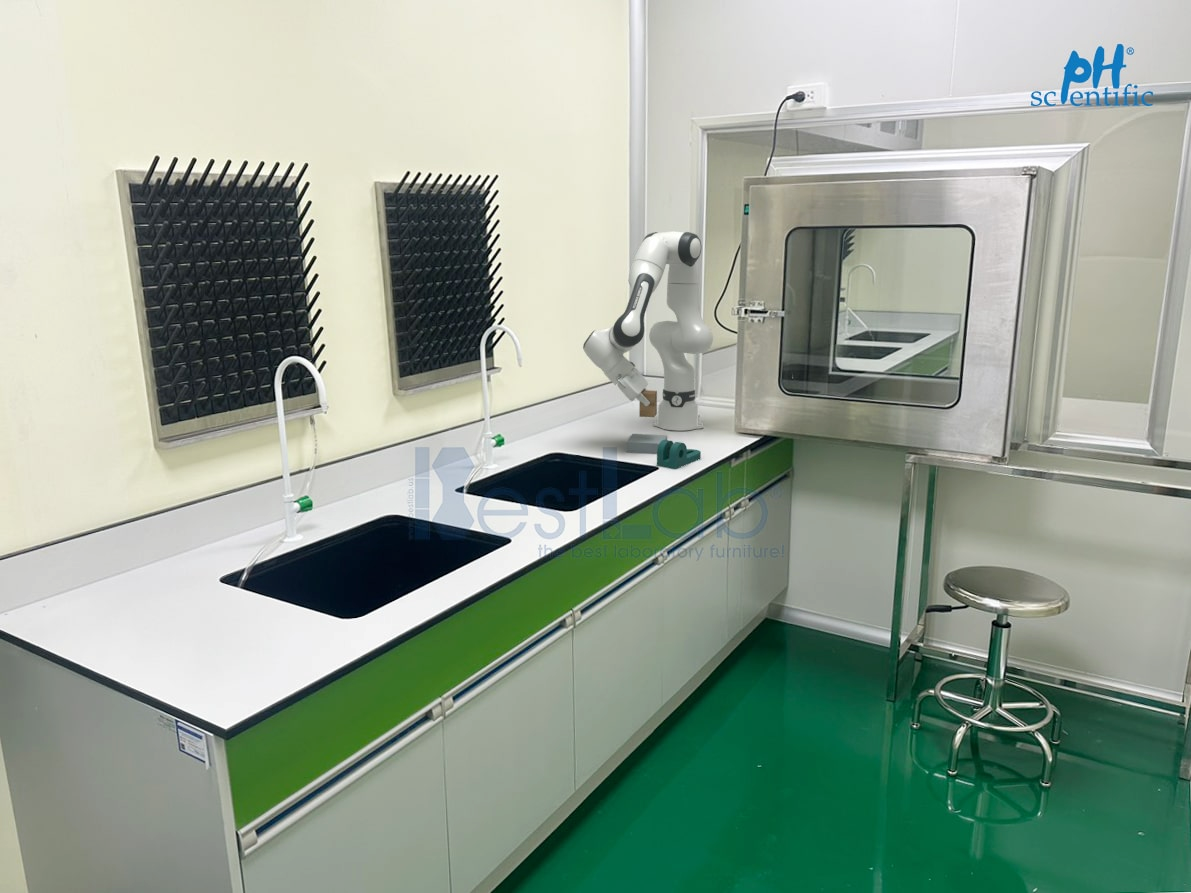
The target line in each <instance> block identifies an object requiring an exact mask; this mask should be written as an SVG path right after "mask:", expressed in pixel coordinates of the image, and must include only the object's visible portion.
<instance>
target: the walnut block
mask: <svg viewBox="0 0 1191 893" xmlns="http://www.w3.org/2000/svg"><path fill="white" fill-rule="evenodd" d="M641 393H642V394H643V396H644V397H645V398H646V399H648V400H649V401H650V404H649V405H648V406H645V405H644V404H643V403H642V402H640V401H639V411H638V412H639V417H640V418H656V417H657V415H658V390H648V389H647V390H643V391H642V392H641Z"/></svg>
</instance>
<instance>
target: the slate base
mask: <svg viewBox="0 0 1191 893" xmlns="http://www.w3.org/2000/svg"><path fill="white" fill-rule="evenodd" d="M662 440H668V435H667V434H665V435H664V434H646V433H645V434H644V433H631V435H630V436H629V438H628V439H627V440H626V443H625V448H626V449H625V451H626V452H625V453H632V454H649V455H650V454H651V455H657V449H658V445H659V443H660V442H661V441H662Z"/></svg>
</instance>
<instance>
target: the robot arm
mask: <svg viewBox="0 0 1191 893" xmlns="http://www.w3.org/2000/svg"><path fill="white" fill-rule="evenodd" d="M701 253H702V241H701V239H700V238H699V236H698V235H697V234H696V233H694V232H689V231H685V232H683V231H676V230H675V231H673V230H671V231H662V232H658V231H657V232H651V233H648V234H647V235H646V236H645V237H644V238H643V240H642V242H641V244H640V245H639V248H638V250H637V251H636V253H635V256H634V258H633V261H632V264H631V266H630V270H629V274H628V280H627V281H628V284H629V286H630V287H631V293H630V296H629V299H628V302H627V305H626V308H625V311H624V312H623V313H622V315H620V316H619V317H618V318H617V319H616V321H615V322H614V324H613V325H612V326H609V327H608V328H607V327H606V328H603V329H598V330H596V329H595V330H593V331H592V332H591V333H590V334H589V335H588V337H587V339H586V340H585V341H584V343H583V344H582V345H583V346H582V348H583V351H584V353H585V354H586V356H587V357H588V358H589V360H590V361H591V362H592V363H593V364H594V366H596V367H597V368H599V369H600V370H601V371H602V372H603V374H604V375H605V376H606V378H608V380H609V381H610V382H611V383H612V384H613V385H614V386H616V385H617V387H618V389H619V390H620V391H621V392H622V393H623V394H624V396H625V397H626V398H627V399H628V400H629V401H631V402H633V401H634V400H637V401H638V402H639V403H640V402H642V403H643V404H644V405H645V406H648V405H649V404H650V401H649V400H648V399H646V398H645V397H644V396H643V394H642V393H641V392H642V391H643V390H648V388H646V387H647V386H648V385H649V383H648V381H647V380H646V378H645V376H643V374H642V373H641V372H640V370H638V369H637V368H636V364H635V363H634V362H632V361H630V360H628V359H627V357H625V355H624V354H626V353H628V352H630V351H631V350H632V349H633V348H634V347H635V346H636V345H637V344H639V343H640V342H641V341H642V340H643V338H644V335H645V322H644V320H645V319H644V318H645V315H646V312H647V308H648V306H649V305H648V304H649V302H650V300H651V297H652V294H653V293H654V292H655V291H656V290H657V287H658V286H659V284H660V282H661V280H662V277H663V275H664V273H665V270H666V266H667V265H668V266H669V267H668V271H667V272H668V273H667V285H666V289H667V290H666V305H667V307H668V308H669V309H670V310H671V311H672V312H673V313H674V314H675V317H676V321H673V320H664V321H657V322H655V323H653V325H652V326H651V328H650V329H649V335H648V337H649V343H650V344H651V345H652V347H653V348H654V349H656V351H657V354H659V357H660V359H661V362H662V366H663V376H664V377H663V381H664V383H663V384H664V385H663V387H664V388H663V389H662V401H661V402H660V403H658V405H657V420H656V421H654V422H653V423H652V426H653V427H657V428H660V429H663V430H668V431H692V430H699V429H704V424H703V422H702V420H701V418H700V414H699V405H698V403H696V401H695V400H696V389H695V368H694V366H693V365H692V364H691V363H690V362H688V360H687V358H686V356H685V354H691V355H695V354H704V353H706V352H708V351H709V349H710V348H711V346H713V345H712V344H713V340H714V339H713V338H714V336H713V333H712V330H711V329H710V328H709V327H708V326H707V324H706V323H705V322H704V320H703V317H702V315H701V312H700V308H699V266H698V259H699V258H700V256H701Z"/></svg>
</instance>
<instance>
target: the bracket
mask: <svg viewBox="0 0 1191 893" xmlns="http://www.w3.org/2000/svg"><path fill="white" fill-rule="evenodd" d="M701 453H702V452H701V450H698V449H692V448H687V445H686V443H684V442H680V441H675V442H673V440H668V439H667V440H662V441H661V442H660V443H659V445H658V449H657V454H656V467H661V468H666V469H670V470H671V469H672V470H678V469H680V468H682V467H685V466H687V465H689V464H691V462H692V463H694V462H696V460H697V461H699V460H701ZM698 459H699V460H698ZM686 464H687V465H686ZM684 465H685V466H684ZM681 466H682V467H681ZM679 467H680V468H679Z"/></svg>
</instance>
